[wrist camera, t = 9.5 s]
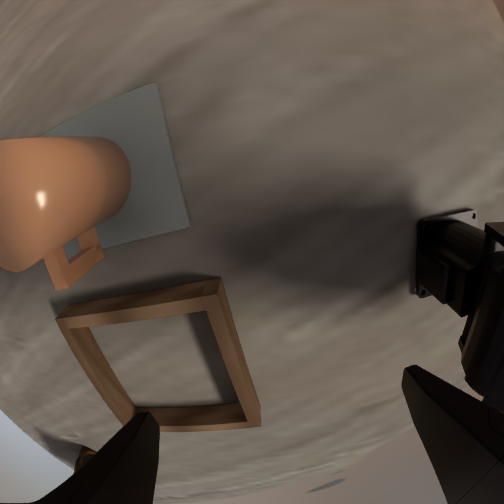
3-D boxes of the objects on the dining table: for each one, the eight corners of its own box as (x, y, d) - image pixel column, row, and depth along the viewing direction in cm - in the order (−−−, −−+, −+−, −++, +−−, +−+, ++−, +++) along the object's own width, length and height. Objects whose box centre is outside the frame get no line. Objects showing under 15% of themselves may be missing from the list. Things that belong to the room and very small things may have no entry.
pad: (157, 83, 15) (156, 81, 15) (191, 225, 19) (190, 227, 18) (29, 145, 16) (26, 145, 16) (59, 260, 19) (56, 262, 19)
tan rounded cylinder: (120, 123, 16) (28, 115, 7) (150, 237, 18) (82, 303, 10) (54, 155, 16) (-37, 171, 8) (84, 255, 19) (9, 315, 10)
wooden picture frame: (220, 277, 20) (217, 294, 18) (260, 406, 24) (261, 426, 22) (69, 304, 21) (55, 319, 18) (133, 413, 25) (126, 430, 23)
